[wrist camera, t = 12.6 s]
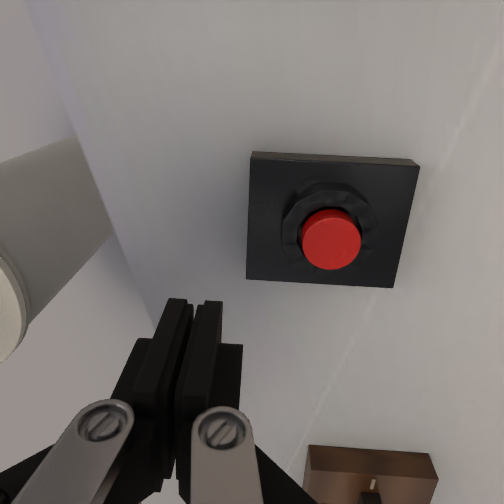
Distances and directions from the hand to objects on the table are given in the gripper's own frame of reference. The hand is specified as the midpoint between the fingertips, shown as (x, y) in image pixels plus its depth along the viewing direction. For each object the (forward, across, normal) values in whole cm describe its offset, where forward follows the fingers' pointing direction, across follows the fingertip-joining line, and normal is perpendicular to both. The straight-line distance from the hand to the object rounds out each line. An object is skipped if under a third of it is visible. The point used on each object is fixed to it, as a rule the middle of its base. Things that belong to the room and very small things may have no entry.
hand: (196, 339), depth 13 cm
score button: (+17, -7, +3) cm, 19 cm away
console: (+21, -16, +35) cm, 43 cm away
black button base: (+21, -7, +3) cm, 22 cm away
